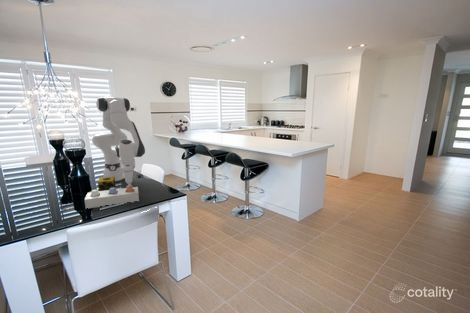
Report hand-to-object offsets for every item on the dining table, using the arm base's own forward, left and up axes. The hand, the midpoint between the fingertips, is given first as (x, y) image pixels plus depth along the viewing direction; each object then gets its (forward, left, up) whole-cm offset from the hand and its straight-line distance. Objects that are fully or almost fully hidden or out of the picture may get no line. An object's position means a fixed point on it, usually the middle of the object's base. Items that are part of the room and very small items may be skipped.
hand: (129, 185), depth 154 cm
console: (0, -10, -10) cm, 14 cm away
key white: (0, -20, -6) cm, 21 cm away
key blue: (0, -10, -6) cm, 12 cm away
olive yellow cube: (-20, -15, -10) cm, 27 cm away
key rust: (0, 0, -6) cm, 6 cm away
